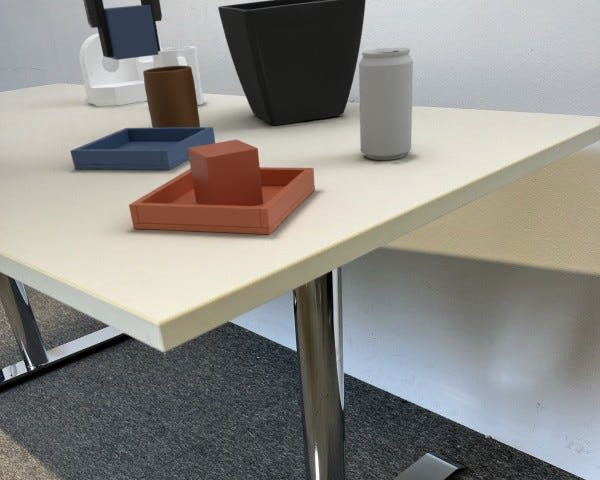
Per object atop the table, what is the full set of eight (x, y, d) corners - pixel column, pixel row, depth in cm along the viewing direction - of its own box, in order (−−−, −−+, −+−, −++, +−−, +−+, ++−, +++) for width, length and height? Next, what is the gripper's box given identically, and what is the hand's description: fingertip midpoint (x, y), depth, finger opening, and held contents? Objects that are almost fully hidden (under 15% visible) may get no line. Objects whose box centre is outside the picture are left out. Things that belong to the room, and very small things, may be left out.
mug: (144, 129, 110) (132, 67, 105) (187, 123, 112) (178, 61, 107) (159, 141, 100) (147, 73, 95) (206, 134, 103) (197, 67, 97)
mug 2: (157, 104, 131) (147, 49, 126) (198, 99, 134) (190, 45, 128) (170, 112, 122) (160, 53, 117) (214, 106, 124) (206, 48, 119)
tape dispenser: (158, 91, 147) (147, 28, 140) (175, 96, 139) (164, 29, 132) (88, 102, 141) (73, 36, 134) (101, 107, 133) (86, 37, 126)
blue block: (106, 57, 86) (96, 9, 83) (147, 52, 88) (138, 5, 85) (116, 59, 82) (106, 9, 79) (158, 54, 84) (150, 5, 81)
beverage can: (381, 164, 80) (381, 53, 73) (350, 155, 84) (348, 51, 78) (421, 154, 82) (424, 47, 76) (389, 147, 87) (390, 45, 80)
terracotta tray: (133, 228, 65) (128, 204, 64) (196, 187, 77) (193, 166, 75) (269, 234, 61) (267, 209, 60) (315, 189, 72) (313, 167, 71)
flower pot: (257, 133, 101) (244, 6, 92) (229, 114, 116) (215, 4, 107) (369, 117, 105) (368, -6, 96) (328, 101, 120) (324, -6, 111)
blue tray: (74, 168, 89) (70, 150, 88) (129, 144, 100) (126, 127, 99) (169, 170, 85) (166, 150, 83) (215, 144, 96) (213, 126, 95)
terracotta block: (213, 214, 65) (205, 157, 62) (195, 201, 70) (187, 147, 67) (263, 203, 67) (258, 147, 64) (242, 191, 71) (236, 139, 68)
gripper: (4, -190, 66) (65, 64, 79) (177, -188, 73) (208, 47, 85) (-3, -174, 72) (55, 60, 85) (158, -174, 78) (189, 44, 91)
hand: (131, 53), depth 85 cm, fingers closed on blue block, 5 cm apart
